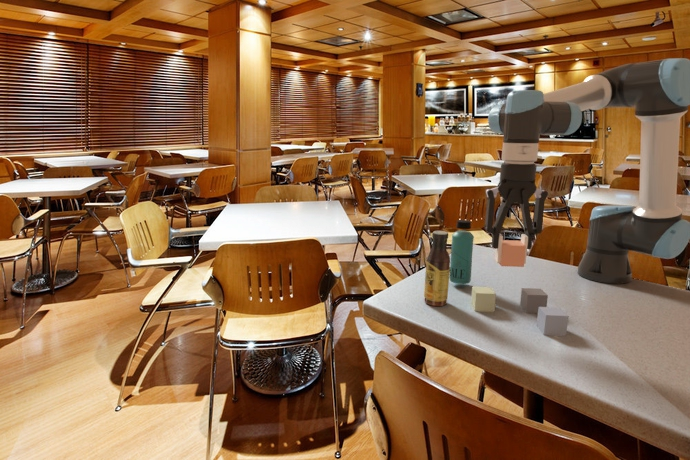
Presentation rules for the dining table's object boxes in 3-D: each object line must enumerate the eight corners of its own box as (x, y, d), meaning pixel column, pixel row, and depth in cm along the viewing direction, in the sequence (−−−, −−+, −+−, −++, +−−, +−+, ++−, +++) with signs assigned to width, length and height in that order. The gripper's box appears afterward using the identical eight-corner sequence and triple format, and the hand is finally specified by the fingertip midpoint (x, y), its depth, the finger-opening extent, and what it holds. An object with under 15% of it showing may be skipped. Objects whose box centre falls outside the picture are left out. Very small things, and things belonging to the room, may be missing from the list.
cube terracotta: (517, 260, 110) (519, 240, 109) (523, 266, 105) (525, 245, 104) (496, 260, 111) (497, 240, 109) (501, 266, 106) (503, 245, 105)
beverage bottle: (468, 282, 141) (473, 218, 136) (472, 289, 134) (477, 223, 130) (447, 281, 142) (451, 218, 137) (449, 288, 135) (454, 222, 131)
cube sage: (489, 304, 124) (491, 287, 122) (494, 312, 119) (495, 293, 118) (470, 304, 124) (472, 286, 123) (474, 311, 119) (476, 293, 118)
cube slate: (557, 327, 110) (560, 307, 109) (566, 336, 105) (568, 316, 104) (536, 326, 110) (538, 306, 109) (543, 335, 106) (546, 315, 104)
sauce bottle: (421, 299, 127) (424, 229, 122) (443, 298, 127) (447, 228, 123) (427, 308, 121) (431, 234, 116) (450, 307, 121) (455, 234, 117)
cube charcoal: (539, 306, 123) (540, 288, 122) (545, 313, 118) (547, 295, 117) (519, 305, 123) (521, 288, 122) (525, 313, 118) (527, 294, 117)
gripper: (481, 163, 100) (474, 265, 105) (566, 164, 98) (555, 267, 104) (474, 160, 107) (468, 256, 112) (553, 161, 106) (543, 258, 111)
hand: (509, 261), depth 108 cm, fingers closed on cube terracotta, 5 cm apart
